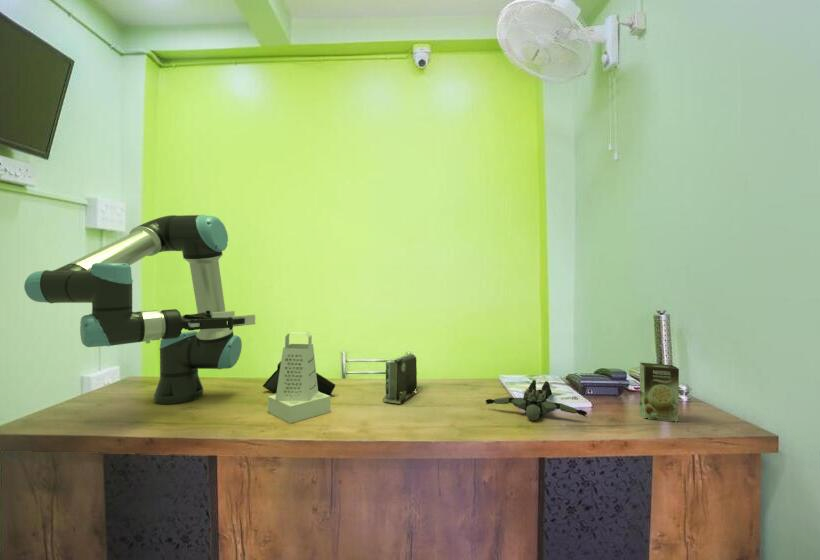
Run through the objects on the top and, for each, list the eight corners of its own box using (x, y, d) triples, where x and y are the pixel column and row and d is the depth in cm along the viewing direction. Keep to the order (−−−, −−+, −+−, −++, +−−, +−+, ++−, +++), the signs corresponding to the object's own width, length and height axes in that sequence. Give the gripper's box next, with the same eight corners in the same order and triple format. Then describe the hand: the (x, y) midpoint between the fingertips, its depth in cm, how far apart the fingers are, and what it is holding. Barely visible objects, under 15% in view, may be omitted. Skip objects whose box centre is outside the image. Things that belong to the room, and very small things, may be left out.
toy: (498, 390, 148) (481, 421, 120) (498, 369, 147) (480, 395, 120) (585, 400, 136) (587, 437, 108) (585, 376, 135) (587, 408, 108)
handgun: (314, 421, 140) (333, 386, 138) (262, 386, 144) (280, 351, 142) (317, 418, 142) (336, 384, 141) (265, 384, 146) (283, 350, 145)
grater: (309, 401, 118) (310, 336, 117) (275, 399, 118) (276, 335, 118) (318, 390, 128) (319, 330, 128) (286, 389, 129) (288, 330, 128)
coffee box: (643, 419, 117) (643, 366, 117) (638, 412, 123) (638, 362, 123) (679, 422, 114) (679, 368, 114) (672, 415, 120) (672, 364, 120)
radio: (407, 386, 154) (407, 348, 154) (427, 388, 150) (427, 350, 150) (377, 402, 133) (377, 359, 133) (399, 406, 129) (399, 361, 129)
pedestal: (268, 412, 122) (268, 395, 122) (306, 402, 133) (306, 386, 133) (290, 423, 113) (290, 405, 113) (330, 411, 123) (330, 395, 123)
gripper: (147, 334, 106) (226, 325, 122) (177, 346, 89) (264, 334, 105) (147, 306, 106) (226, 302, 122) (176, 314, 89) (264, 307, 105)
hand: (244, 317), depth 113 cm, fingers open, 13 cm apart
